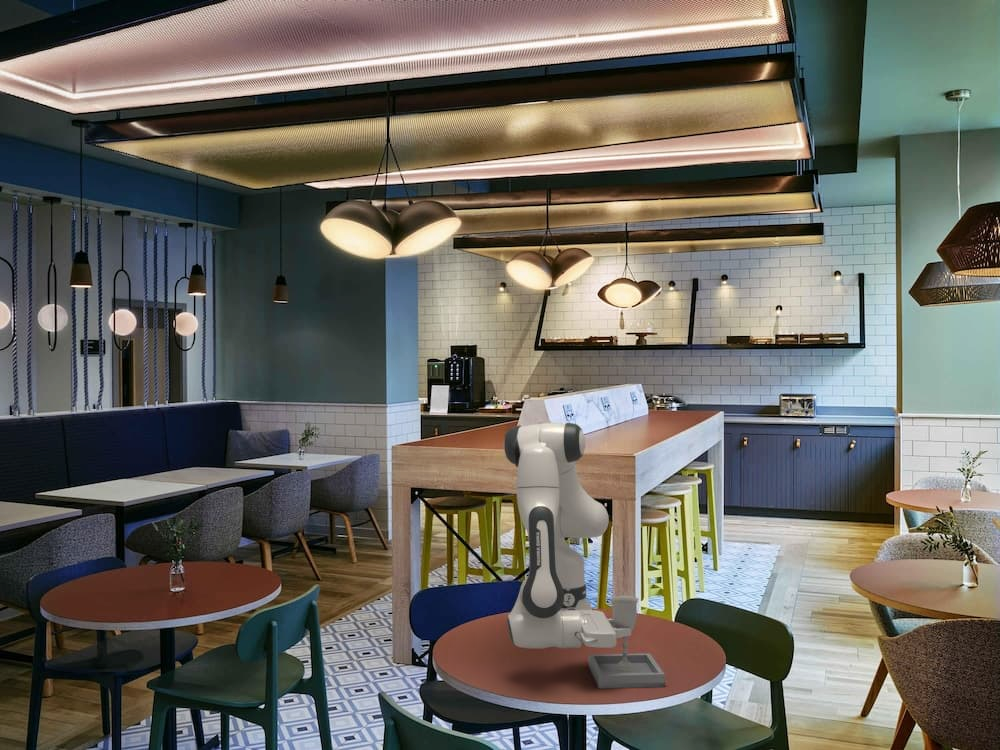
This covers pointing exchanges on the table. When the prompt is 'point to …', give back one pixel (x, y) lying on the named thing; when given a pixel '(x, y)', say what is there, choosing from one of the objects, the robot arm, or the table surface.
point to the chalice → (624, 625)
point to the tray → (643, 676)
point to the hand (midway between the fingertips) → (628, 628)
